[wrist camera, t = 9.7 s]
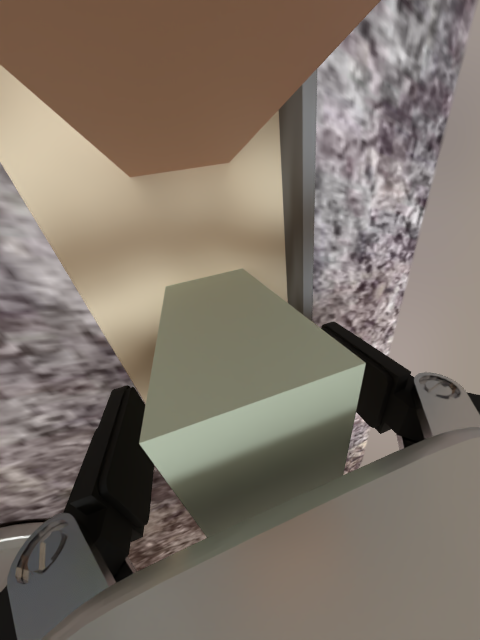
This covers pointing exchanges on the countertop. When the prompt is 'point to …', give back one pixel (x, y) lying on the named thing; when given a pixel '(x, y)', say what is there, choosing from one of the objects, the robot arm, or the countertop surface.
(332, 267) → the countertop surface
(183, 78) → the rust tin
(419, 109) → the countertop surface
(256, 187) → the board
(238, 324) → the sage tin
